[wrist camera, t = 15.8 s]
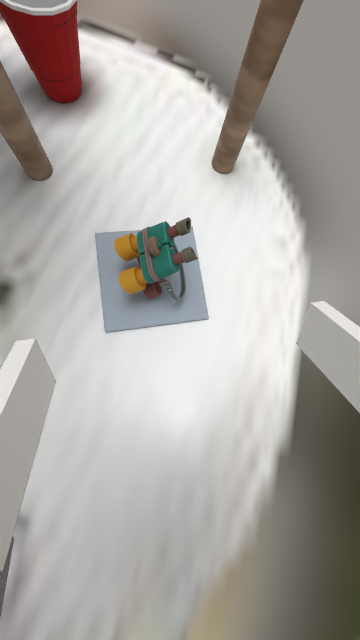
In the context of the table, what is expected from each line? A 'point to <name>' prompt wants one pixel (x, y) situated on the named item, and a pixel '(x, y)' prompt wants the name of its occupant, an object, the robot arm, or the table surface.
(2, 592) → the geometric lantern
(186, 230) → the binoculars
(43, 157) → the post gap
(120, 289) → the grey mat
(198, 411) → the table surface
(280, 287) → the table surface
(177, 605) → the table surface
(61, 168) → the table surface
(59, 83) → the plastic cup
